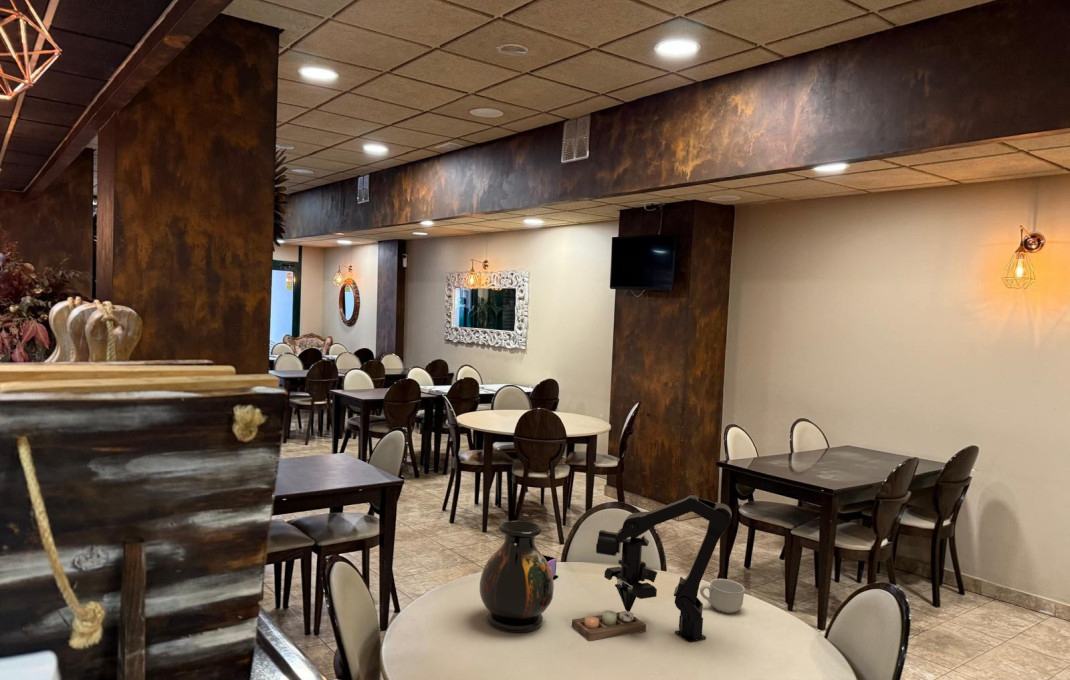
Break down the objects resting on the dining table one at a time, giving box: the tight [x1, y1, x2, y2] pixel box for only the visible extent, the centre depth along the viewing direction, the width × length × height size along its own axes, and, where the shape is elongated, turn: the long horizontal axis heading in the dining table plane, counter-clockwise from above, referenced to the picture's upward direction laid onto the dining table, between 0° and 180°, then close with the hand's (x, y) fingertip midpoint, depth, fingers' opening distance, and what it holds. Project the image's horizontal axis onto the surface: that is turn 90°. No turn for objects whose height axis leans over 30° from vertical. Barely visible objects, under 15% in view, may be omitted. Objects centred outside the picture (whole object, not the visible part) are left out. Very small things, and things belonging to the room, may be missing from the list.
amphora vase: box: [479, 520, 555, 633], centre depth 205 cm, size 22×22×28 cm
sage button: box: [602, 610, 618, 627], centre depth 204 cm, size 4×4×3 cm
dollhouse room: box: [542, 554, 559, 581], centre depth 243 cm, size 12×12×7 cm
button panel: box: [571, 611, 647, 642], centre depth 204 cm, size 10×19×2 cm, turn 117°
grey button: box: [619, 610, 635, 624], centre depth 207 cm, size 4×4×3 cm
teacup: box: [699, 578, 746, 614], centre depth 225 cm, size 14×11×8 cm
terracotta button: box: [584, 615, 599, 629], centre depth 202 cm, size 4×4×3 cm
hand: (627, 611), depth 208 cm, fingers closed
